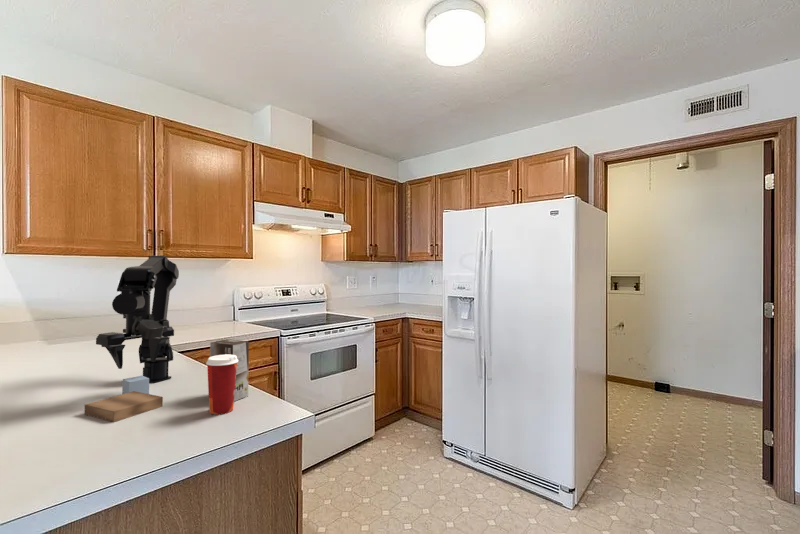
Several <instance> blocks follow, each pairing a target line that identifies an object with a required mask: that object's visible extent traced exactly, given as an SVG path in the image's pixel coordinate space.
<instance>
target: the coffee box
mask: <svg viewBox="0 0 800 534" xmlns="http://www.w3.org/2000/svg"><path fill="white" fill-rule="evenodd" d="M249 345H250V341H247V340H240V339H239V340H238V339H220V340H216V341H213V342H210V345H209V348H210V349H209V350H210V352H209V354H210V355H209V357H212V356H216V355H226V354H229V355H236V356H237V359H238V362H237V369H236V382H235V395H234V402H236V401H238V400H242V399H244V398H247V397H248V396H249V358H250V357H249V350H250V349H249V347H250V346H249ZM246 396H247V397H246Z"/></svg>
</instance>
